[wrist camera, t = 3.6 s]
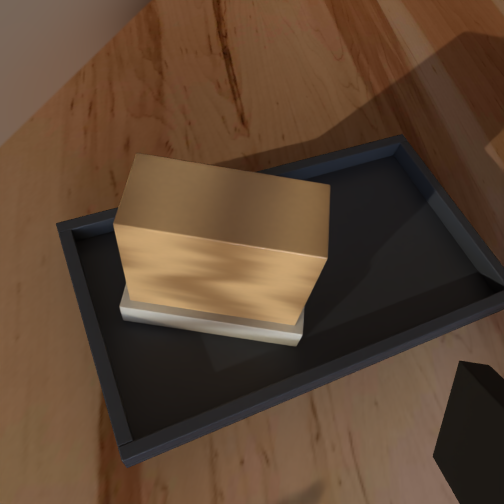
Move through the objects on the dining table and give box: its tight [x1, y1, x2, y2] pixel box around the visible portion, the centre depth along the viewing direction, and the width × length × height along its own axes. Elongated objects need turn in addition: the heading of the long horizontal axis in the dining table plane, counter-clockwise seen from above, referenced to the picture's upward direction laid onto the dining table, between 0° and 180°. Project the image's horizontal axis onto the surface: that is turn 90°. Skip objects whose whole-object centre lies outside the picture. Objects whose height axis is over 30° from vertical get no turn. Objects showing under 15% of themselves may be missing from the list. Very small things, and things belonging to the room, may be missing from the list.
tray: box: [56, 134, 504, 468], centre depth 33 cm, size 16×28×2 cm, turn 113°
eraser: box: [113, 153, 330, 347], centre depth 28 cm, size 11×6×10 cm, turn 83°
